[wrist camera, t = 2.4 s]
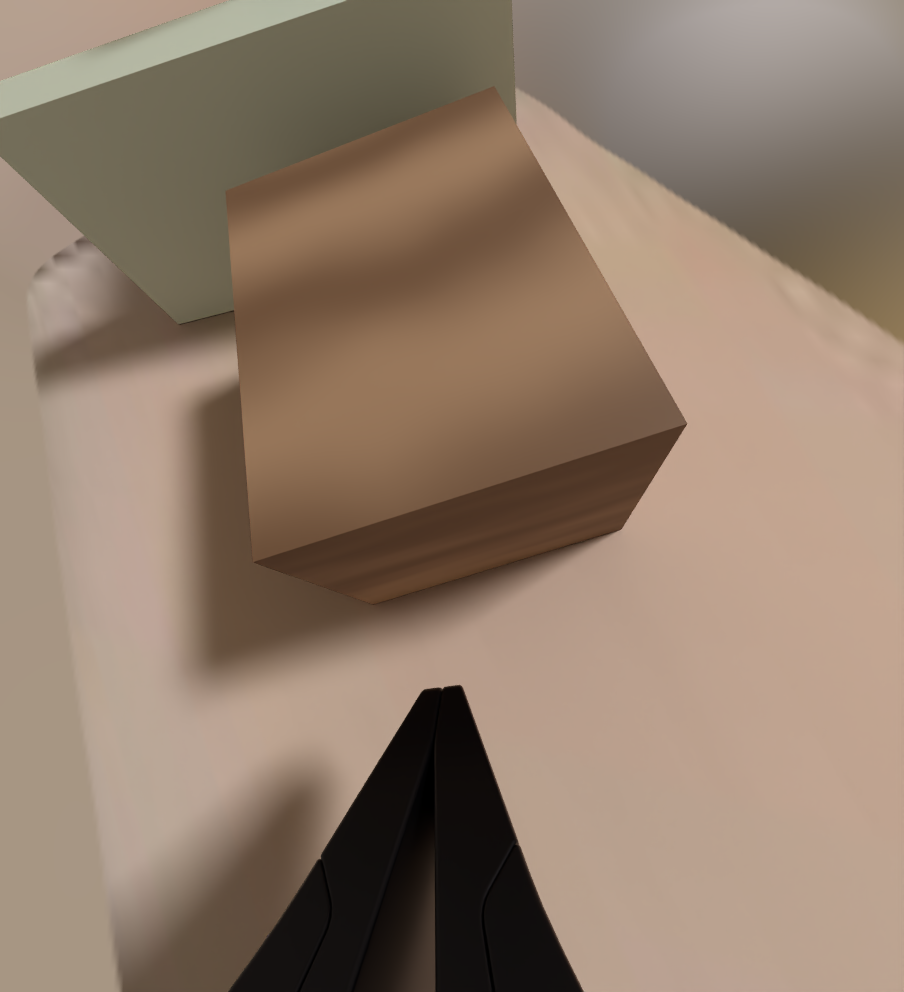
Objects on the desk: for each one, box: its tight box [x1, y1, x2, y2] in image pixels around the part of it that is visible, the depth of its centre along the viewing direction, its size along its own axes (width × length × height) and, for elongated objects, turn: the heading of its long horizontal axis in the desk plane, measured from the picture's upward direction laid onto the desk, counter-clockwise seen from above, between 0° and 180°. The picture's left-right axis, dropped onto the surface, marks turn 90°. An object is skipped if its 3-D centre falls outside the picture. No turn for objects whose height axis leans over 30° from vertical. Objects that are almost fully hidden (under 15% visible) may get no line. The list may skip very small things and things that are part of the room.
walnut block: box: [225, 86, 687, 604], centre depth 16 cm, size 14×10×8 cm
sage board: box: [0, 0, 517, 324], centre depth 20 cm, size 3×20×10 cm, turn 97°
